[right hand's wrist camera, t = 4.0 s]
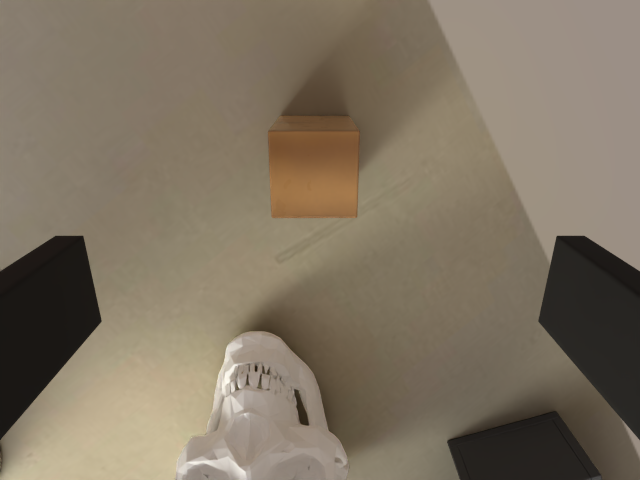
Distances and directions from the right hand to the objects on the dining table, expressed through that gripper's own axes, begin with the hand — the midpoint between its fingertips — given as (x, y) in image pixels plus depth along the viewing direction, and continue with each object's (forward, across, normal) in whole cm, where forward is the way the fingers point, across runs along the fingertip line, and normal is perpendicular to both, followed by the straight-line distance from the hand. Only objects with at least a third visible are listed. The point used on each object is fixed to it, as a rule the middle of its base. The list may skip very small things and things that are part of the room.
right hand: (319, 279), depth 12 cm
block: (+21, 0, 0) cm, 21 cm away
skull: (+21, +4, +25) cm, 33 cm away
